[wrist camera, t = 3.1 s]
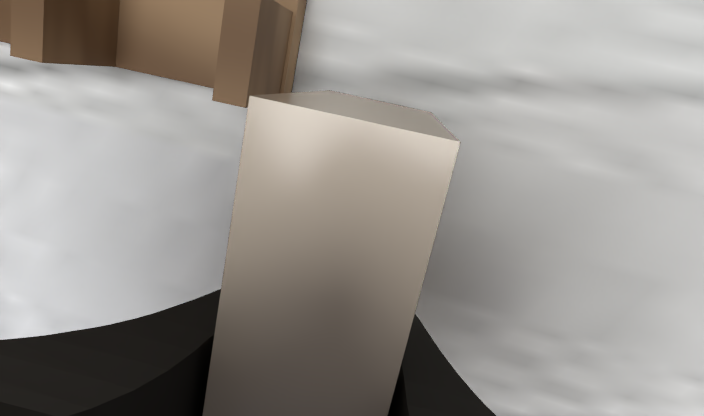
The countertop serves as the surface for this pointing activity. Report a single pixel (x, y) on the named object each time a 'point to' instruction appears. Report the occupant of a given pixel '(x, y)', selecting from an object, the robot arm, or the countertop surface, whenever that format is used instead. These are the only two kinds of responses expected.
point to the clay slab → (325, 254)
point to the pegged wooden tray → (166, 39)
